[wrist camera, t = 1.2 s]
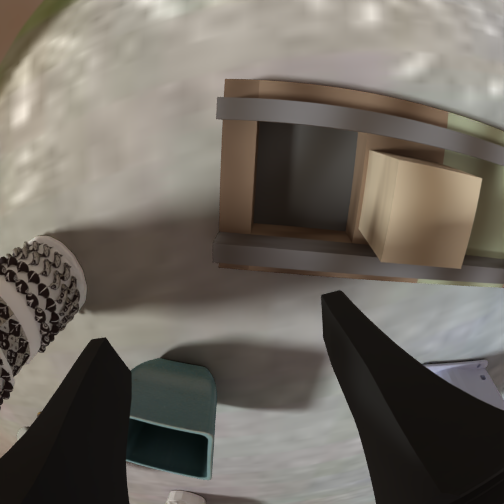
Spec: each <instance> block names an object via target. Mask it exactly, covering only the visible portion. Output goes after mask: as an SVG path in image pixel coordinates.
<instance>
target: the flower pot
mask: <svg viewBox="0 0 504 504" xmlns="http://www.w3.org/2000/svg"><path fill="white" fill-rule="evenodd" d="M131 372H132V401H131V410H130V419H129V428H128V438H127V448H126V461H128V462H131V463H134V464H138V465H141V466H145V467H149V468H153V469H157V470H161V471H165V472H169V473H173V474H178V475H183V476H187V477H192V478H197V479H203V480H211V478H212V465H213V450H214V434H215V418H216V405H217V391H216V385H215V381H214V379H213V377H212V375H211V373H210V372H209V370H208V369H207V368H205V367H203V366H197V365H191V364H186V363H180V362H175V361H171V360H166V359H161V358H157V359H153V360H150V361H147V362H144V363H142V364H140V365H138V366H136V367H135V368H133V369H132V370H131Z"/></svg>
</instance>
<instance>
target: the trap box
mask: <svg viewBox="0 0 504 504" xmlns="http://www.w3.org/2000/svg"><path fill="white" fill-rule="evenodd" d="M216 119H222V120H223V127H222V150H221V177H220V212H219V233H218V235H217V237H216V238H215V240H214V242H213V262H214V263H219V268H230V269H241V270H253V271H264V272H276V273H288V274H300V275H313V276H326V277H339V278H352V279H366V280H381V281H395V282H411V283H427V284H443V285H461V286H479V287H499V288H504V131H502V130H499V129H496V128H494V127H491V126H489V125H486V124H483V123H480V122H477V121H475V120H472V119H469V118H466V117H463V116H460V115H456V114H453V113H450V112H447V111H443V110H440V109H436V108H433V107H429V106H426V105H422V104H418V103H414V102H410V101H406V100H401V99H397V98H393V97H388V96H383V95H378V94H373V93H368V92H362V91H357V90H351V89H344V88H338V87H330V86H323V85H315V84H306V83H295V82H284V81H269V80H248V79H225V88H224V97H217V113H216ZM369 150H373V151H379V152H385V153H391V154H396V155H402V156H407V157H412V158H417V159H422V160H427V161H431V162H436V163H440V164H443V165H446V166H449V167H452V168H455V169H458V170H461V171H463V172H466V173H469V174H472V175H474V176H477V177H480V178H482V182H481V188H480V194H479V199H478V204H477V208H476V213H475V218H474V222H473V226H472V230H471V234H470V238H469V242H468V246H467V249H466V253H465V256H464V260H463V263H462V266H461V269H456V268H445V267H433V266H421V265H409V264H398V263H386V262H380V260H379V259H378V257H377V255H376V254H375V252H374V251H373V249H372V248H371V246H370V245H369V243H368V242H367V240H366V239H365V238H364V236H363V235H362V233H361V232H360V230H359V223H360V217H361V210H362V204H363V197H364V190H365V183H366V175H367V167H368V159H369Z"/></svg>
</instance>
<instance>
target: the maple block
mask: <svg viewBox="0 0 504 504" xmlns="http://www.w3.org/2000/svg"><path fill="white" fill-rule="evenodd" d="M481 182H482V178H480V177H477V176H474V175H472V174H469V173H466V172H463V171H461V170H458V169H455V168H452V167H449V166H446V165H443V164H440V163H436V162H431V161H427V160H422V159H417V158H412V157H407V156H402V155H396V154H391V153H385V152H379V151H373V150H369V159H368V167H367V175H366V183H365V190H364V197H363V204H362V210H361V217H360V223H359V230H360V232H361V233H362V235H363V236H364V238H365V239H366V240H367V242H368V243H369V245H370V246H371V248H372V249H373V251H374V252H375V254H376V255H377V257H378V259H379V260H380V262H386V263H398V264H409V265H421V266H433V267H445V268H456V269H461V266H462V263H463V260H464V256H465V253H466V249H467V246H468V242H469V238H470V234H471V230H472V226H473V222H474V218H475V213H476V208H477V204H478V199H479V194H480V188H481Z"/></svg>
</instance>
